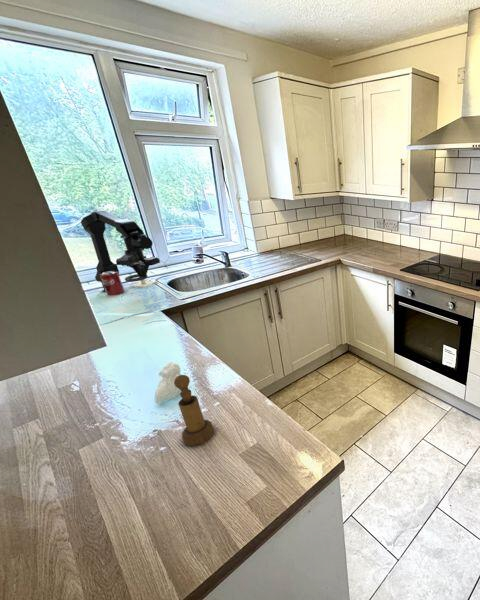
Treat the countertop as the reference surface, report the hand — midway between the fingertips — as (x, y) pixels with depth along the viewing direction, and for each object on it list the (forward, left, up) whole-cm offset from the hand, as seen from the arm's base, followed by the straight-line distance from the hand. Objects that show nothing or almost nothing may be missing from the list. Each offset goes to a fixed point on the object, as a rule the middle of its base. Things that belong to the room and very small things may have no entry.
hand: (143, 277), depth 167 cm
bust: (+69, -75, -11) cm, 102 cm away
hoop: (-4, 0, 0) cm, 4 cm away
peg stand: (-16, +16, -11) cm, 25 cm away
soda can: (-20, +2, -11) cm, 23 cm away
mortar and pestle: (+87, -90, -11) cm, 125 cm away
